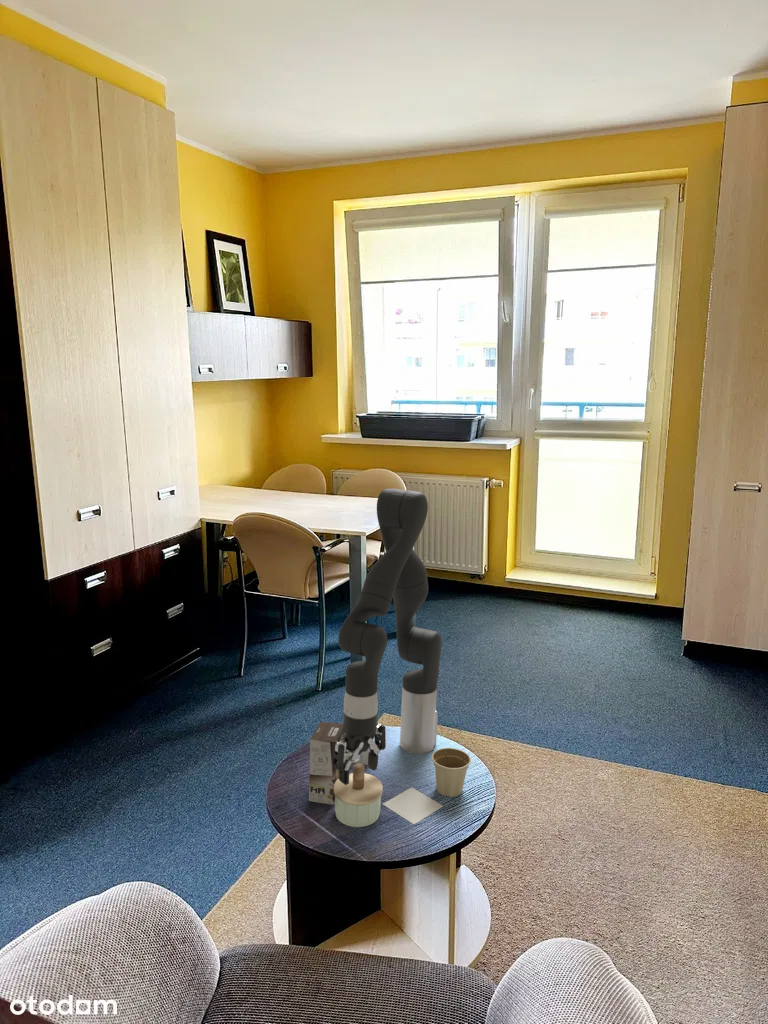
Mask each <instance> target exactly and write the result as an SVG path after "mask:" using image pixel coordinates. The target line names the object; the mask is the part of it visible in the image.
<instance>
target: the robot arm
mask: <svg viewBox="0 0 768 1024" xmlns="http://www.w3.org/2000/svg"><path fill="white" fill-rule="evenodd" d="M428 509H429V505H428V499H427V497H426V495H425V494H424V493H422V492H420V491H416V490H409V489H408V490H407V489H399V488H385V489H382V490H381V491H380V493H378V497H377V501H376V515H377V517H376V518H377V522H378V527H379V530H380V534H381V537H382V542H383V546H384V549H385V553H384V554H383V555H382V556H381V557H380V558H378V560H377V561H376V562H375V563H374V564H373V565H372V566H371V568H370V569H369V571H368V573H367V574H366V577H365V579H364V582H363V586H362V589H361V592H360V595H359V597H358V600H357V601H356V603H355V604H354V607H353V608H352V609H351V611H350V612H349V614H348V616H347V617H346V619H345V620H344V622H343V623H342V624H341V627H340V629H339V633H338V635H337V636H338V637H337V638H338V646H339V647H340V649H341V650H342V651H344V652H346V653H349V654H353V655H357V656H362V657H365V660H363V661H362V660H361V661H360V660H359V661H353V662H351V663H349V664H348V666H347V667H346V671H345V686H344V687H345V690H344V695H343V697H344V698H343V721H342V722H343V723H342V724H343V728H344V731H345V738H344V741H341V742H338V741H334V743H333V753H332V766H333V767H334V768H336V769H337V770H339V780H340V781H341V782H342V783H343V784H345V785H347V784H349V774H350V767H351V764H352V762H353V761H355V759H357V758H358V757H357V756H358V755H359V754H361V753H362V752H365V751H367V750H369V751H370V752H369V753H368V765H367V767H368V768H369V769H370V770H371V771H376V770H377V769H378V765H379V755H380V753H381V751H382V750H383V751H384V750H385V749H386V747H387V746H386V744H387V741H386V738H387V737H386V733H387V732H386V726H385V725H383V723H380V722H378V714H379V713H378V712H379V711H378V709H379V697H378V684H379V683H378V681H379V680H378V677H379V671H380V667H381V663H382V661H383V657H384V654H385V651H386V649H387V645H388V636H387V635H388V634H387V632H386V630H385V629H384V628H383V627H382V626H381V625H376V624H372V623H367V621H368V620H369V619H370V618H373V617H374V618H375V617H383V616H386V615H387V614H388V612H389V609H390V607H391V604H392V601H393V605H394V607H393V608H394V612H395V613H394V614H395V626H396V645H397V646H396V647H397V651H398V653H397V654H398V655H399V657H400V659H401V660H403V661H405V662H409V663H413V664H417V665H422V668H419V669H414V670H410V671H408V672H406V673H405V674H404V675H403V677H402V685H401V686H402V688H401V689H402V690H401V691H402V692H401V709H400V710H401V713H400V733H399V735H400V736H399V737H400V739H399V747H400V749H402V750H403V751H405V752H407V753H409V754H415V755H422V754H423V755H424V754H427V753H430V752H432V751H433V750H434V749H435V748H434V747H435V746H436V745H437V736H438V735H437V734H438V733H437V732H438V720H439V719H438V718H439V712H438V711H437V694H438V692H437V691H438V690H437V689H438V682H439V681H438V680H439V674H440V664H441V663H440V662H441V654H442V636H441V633H439V631H436V630H431V629H426V628H423V627H422V628H421V627H417V626H415V625H414V617H415V614H416V613H417V612H418V610H419V609H420V608H421V606H422V605H423V604H424V603H425V600H426V599H427V597H428V594H429V583H428V574H427V568H426V566H425V564H424V562H423V560H422V559H421V558H420V556H419V554H417V552H416V550H415V549H414V547H415V544H416V542H417V540H418V539H419V537H420V534H421V532H422V530H423V527H424V525H425V523H426V519H427V515H428ZM348 750H349V751H350V752H351V756H350V755H349V754H348ZM356 757H357V758H356ZM346 758H347V759H348V760H346ZM337 760H338V762H337ZM345 761H346V762H345Z"/></svg>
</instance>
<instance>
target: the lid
mask: <svg viewBox="0 0 768 1024" xmlns="http://www.w3.org/2000/svg"><path fill="white" fill-rule="evenodd" d="M365 767H366V765H365V764H361V763H353V765H352V772H351V773H350V772H349V784H347V785H345V784H343V783H342V782H341V781H340V780H339V778H338V779H337V780H336V782H335V784H334V794H335V796H336V797H337V798H338V799H339V800H340V801H342V802H344V803H347V804H350V805H367V804H370V803H373V802H375V801H377V800H378V799H379V798H380V797H381V798H382V795H383V789H384V787H383V784H382V781H381V780H380V779H379V778H378V777H377V776H375V775H372V774H369V773H365V771H366V769H365Z"/></svg>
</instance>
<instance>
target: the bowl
mask: <svg viewBox="0 0 768 1024" xmlns="http://www.w3.org/2000/svg"><path fill="white" fill-rule="evenodd" d="M381 799H382V796H381V797H380V798H379V799H378V800H377V801H375V802H373V803H370V804H367V805H350V804H347V803H344V802H342V801H340V800H339V799H338V798H337V797H336V796H335V803H334V810H335V817H336V819H337V820H338V821H339V823H341V824H344V825H345V826H348V827H352V828H362V827H368V826H370V825H372V824H374V823H376V822H377V820H379V817H380V813H381V807H382V805H381V804H382V801H381Z"/></svg>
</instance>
